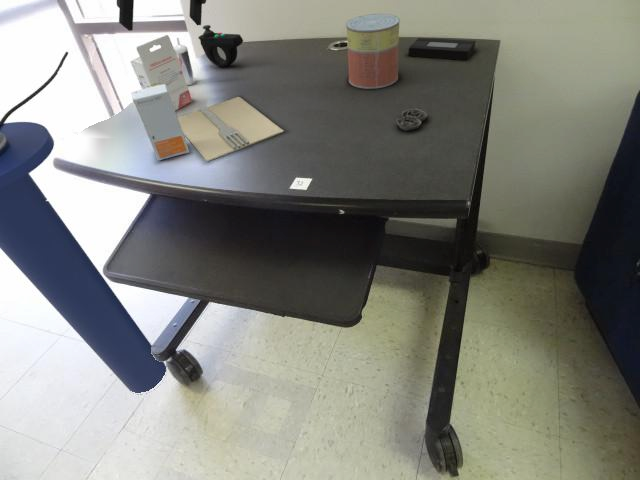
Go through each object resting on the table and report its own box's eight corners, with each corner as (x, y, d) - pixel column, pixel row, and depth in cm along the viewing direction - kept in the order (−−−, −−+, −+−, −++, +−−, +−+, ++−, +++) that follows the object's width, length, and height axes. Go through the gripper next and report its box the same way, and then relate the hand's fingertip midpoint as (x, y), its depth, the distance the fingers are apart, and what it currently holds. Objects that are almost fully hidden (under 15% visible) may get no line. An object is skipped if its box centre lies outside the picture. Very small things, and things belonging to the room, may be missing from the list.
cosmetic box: (158, 162, 74) (131, 100, 66) (156, 151, 77) (130, 91, 69) (190, 152, 76) (167, 91, 68) (187, 143, 79) (165, 82, 71)
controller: (213, 62, 112) (202, 23, 106) (250, 64, 108) (241, 24, 101) (204, 68, 110) (192, 28, 103) (242, 70, 105) (232, 29, 98)
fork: (197, 112, 88) (196, 110, 88) (210, 108, 89) (209, 106, 89) (234, 149, 74) (233, 147, 74) (249, 143, 75) (248, 141, 75)
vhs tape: (418, 45, 105) (418, 37, 104) (474, 49, 99) (475, 40, 98) (408, 56, 100) (408, 47, 99) (466, 60, 94) (468, 51, 93)
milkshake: (199, 77, 105) (186, 36, 98) (195, 85, 101) (182, 43, 94) (182, 79, 105) (168, 39, 98) (178, 87, 101) (163, 45, 94)
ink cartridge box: (180, 98, 96) (156, 31, 86) (193, 101, 93) (170, 34, 83) (150, 113, 91) (122, 44, 81) (163, 117, 89) (136, 47, 79)
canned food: (376, 65, 98) (375, 11, 90) (408, 77, 91) (411, 19, 83) (339, 79, 94) (335, 23, 86) (370, 93, 87) (369, 33, 78)
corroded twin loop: (391, 130, 74) (391, 125, 73) (405, 111, 79) (405, 106, 78) (417, 134, 72) (417, 129, 71) (430, 114, 77) (431, 109, 76)
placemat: (172, 120, 87) (172, 119, 87) (239, 97, 92) (239, 96, 92) (207, 161, 73) (206, 160, 72) (283, 132, 78) (283, 130, 78)
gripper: (238, -85, 73) (234, 30, 72) (117, -69, 77) (112, 39, 77) (221, -123, 65) (216, 5, 65) (87, -103, 70) (82, 17, 69)
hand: (160, 24), depth 71 cm, fingers open, 13 cm apart
